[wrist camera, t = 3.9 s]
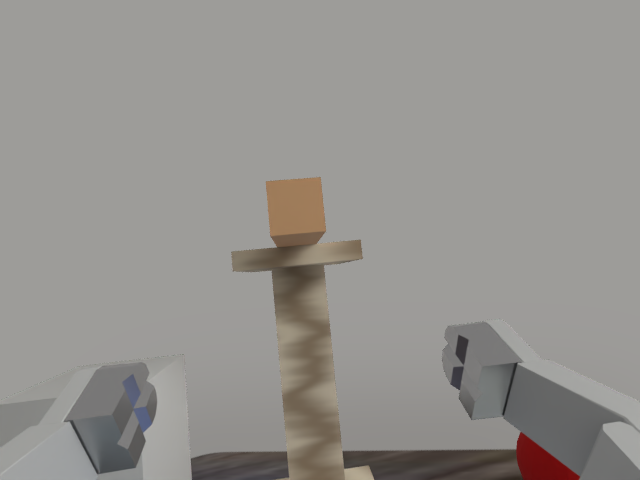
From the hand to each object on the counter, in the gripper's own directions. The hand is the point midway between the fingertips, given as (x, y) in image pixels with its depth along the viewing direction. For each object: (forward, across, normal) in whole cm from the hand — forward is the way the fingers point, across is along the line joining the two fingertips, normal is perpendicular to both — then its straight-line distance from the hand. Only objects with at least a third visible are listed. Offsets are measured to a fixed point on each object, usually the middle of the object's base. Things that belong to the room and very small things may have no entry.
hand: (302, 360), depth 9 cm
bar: (+18, 0, -5) cm, 19 cm away
